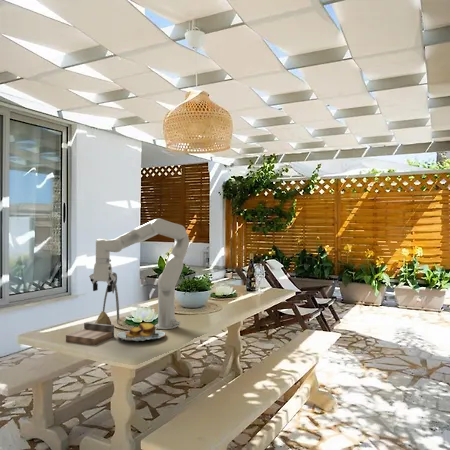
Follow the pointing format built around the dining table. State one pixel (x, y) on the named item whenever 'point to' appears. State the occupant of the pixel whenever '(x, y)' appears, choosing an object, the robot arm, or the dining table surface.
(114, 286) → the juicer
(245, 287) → the dining table surface
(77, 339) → the wooden cutting board
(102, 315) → the rock
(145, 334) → the food on plate
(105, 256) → the robot arm
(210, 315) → the dining table surface
